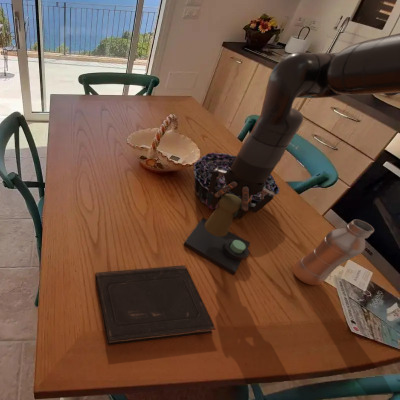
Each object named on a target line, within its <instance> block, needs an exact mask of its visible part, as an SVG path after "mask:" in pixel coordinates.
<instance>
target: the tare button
mask: <svg viewBox="0 0 400 400" xmlns="http://www.w3.org/2000/svg"><path fill="white" fill-rule="evenodd" d="M230 248H231V250H232V251H233V252H235V253H242V252H243V251H244V249H245V248H246V246H245V244H244V243H243V242H241V241H239V240H234V241H233V242H232V244H231V245H230Z"/></svg>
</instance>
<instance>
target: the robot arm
mask: <svg viewBox="0 0 400 400" xmlns="http://www.w3.org/2000/svg"><path fill="white" fill-rule="evenodd" d="M392 93H393V94H395V93H400V33H394V34H391V35H386V36H381V37H376V38H373V39H368V40H364V41H360V42H356V43H353V44H351V45H348V46H347V47H345V48H343V49H341V50H340V51H339V52H331V53H329V52H328V53H327V52H326V53H325V52H304V51H303V52H298V51H297V52H292V53H290V54H288V55H287V56H285V57H283V58H282V59H281V60H280V61H279V62H278V63H277V64H276V65H275V66H274V68H273V69H272V71H271V73H270V75H269V77H268V81H267V84H266V89H265V94H264V99H263V102H262V107H261V112H260V115H259V117H258V118H257V120H256V122H255V124H254V125H253V128H252V129H251V131H250V133H249V134H248V136H246V137H247V138H245V140H244V142H243V143H242V145H241V146H240V149H239V151H238V153H237V154H236V156H237V157H236V158H235V160H234V162H233V164H232V166H231V168H230V169H229V170H227V171H223V170H221V169H220V168H219V167H217V168H216V169H215V170H214V171H213V172H212V175H211V180H210V185H209V191H210V192H212V193H213V194H214V197H213V199H212V201H211V203H210V205H212V208H215V206H216V205H217V203H218V201H219V199H220V197H221V196H222V195H223V194H225V193H226V192H228V191H230V192H232V193H236V194H238V195H239V196H241V197H242V202H243V204H242V207H241V208H240V210H239V211H238V213H237V215H236V216H234V218H233V220H235V221H237V220H241V219H242V218H243V217H244V216H245V214H246V213H247V212H246V211H248V212H251V213H253V214H257V213H258V212H259V211H260V210H261V209H262V208H264V207H265V206H266V205H267V204H269V203H270V202H271V201H273V199H274V197H275V196H276V195H275V191H273V190H271V191H269V190H268V189H266V188H265V187H264V186H265V185H264V183H265V181H266V180H267V178H268V177H269V175H270V174H271V175H272V172H273V171H274V170H275V168H276V166H277V165H278V163H280V161H281V160H282V158H283V156H284V154H285V153H286V150H287V148H288V146H289V145H290V143H291V142H292V140H293V139H294V137H295V135H296V134H297V132H298V131H299V129H300V128H301V126H302V124H303V122H304V115H303V113H302V112H301V111H299V110H298V109H296V108H294V107H293V104H294V102H295V100H296V99H324V98H333V97H340V96H346V95H347V96H361V95H362V96H363V95H380V94H392ZM222 176H224V178H225V181H226V184H225V185H224V186H223V187H221V188H220V189H219V188H218V187H217V185H218V180H219V179H220V178H221V177H222ZM259 192H261V193H262V195H261V199H260V200H259V201H258V202H256V203H255V204H252V203H251V198H252V195H253V194H256V193H259Z"/></svg>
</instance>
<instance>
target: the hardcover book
mask: <svg viewBox="0 0 400 400" xmlns="http://www.w3.org/2000/svg"><path fill="white" fill-rule="evenodd" d="M94 278H95V283H96V288H97V289H96V290H97V295H98V300H99V306H100V310H101V317H102V321H103V326H104V332H105V337H106V343H107V346H113V345H114V346H115V345H122V344H123V345H124V344H129V343H131V344H132V343H139V342H146V341H156V340H165V339H173V338H180V337H189V336H190V337H191V336H197V335H198V336H199V335H206V334H213V331H212V330H217V328H216V327H215V324H214V322H213V319H212V318H211V316H210V314H209V312H208V310H207V307H206V306H205V303H204V301H203V299H202V297H201V295H200V293H199V291H198V288H197V287H196V284H195V282H194V280H193V278H192V276H191V274H190V272H189V270H188V268H187V265H172V266H162V267H148V268H136V269H125V270H123V269H122V270H111V271H98V272H95V275H94Z"/></svg>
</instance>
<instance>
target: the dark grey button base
mask: <svg viewBox="0 0 400 400" xmlns="http://www.w3.org/2000/svg"><path fill="white" fill-rule="evenodd" d="M207 220H208V218H207V219H206V218H204V217H202V218H201V219H200V221H199V222H198V223H197V225H196V226H195V227H194V229H193V230H192V231H191V233H190V234H189V235H188V237H187V239H186V240H185V241H184V242H183V244H182V245H183V246H184V247H185V248H187V249H189V250H190V251H192V252H194V253H195V254H197V255H199V256H200V257H202V258H204V259H205V260H207V261H209V262H211V263H212V264H214V265H216V266H218V268H220V269H222V270H224V271H225V272H228V273H229V274H231V275H233V276H234V275H235V274H236V273H237V270H238V269H239V267H240V265H241V263H242V261H245V260H246V259H247V258H248V256H249V255H250V250H249V247H250V245H251V242H250V241H248V240H246V239H245V238H243V237H240V236H239V235H237V234H236V233H233V232H231V231H230V230H229V231H228V234H227V235H226V236H222V237H219V236H215V235H212V234H211V233H209V232H208V231H207V230H206V228H205V223H206V221H207ZM234 240H239V241H241V242H243V243H244V244H245V246H246V248H245V249H244V251H243V252H242V253H235V252H233V251H232V250H231V248H230V245H231V244H232V242H233V241H234Z"/></svg>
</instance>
